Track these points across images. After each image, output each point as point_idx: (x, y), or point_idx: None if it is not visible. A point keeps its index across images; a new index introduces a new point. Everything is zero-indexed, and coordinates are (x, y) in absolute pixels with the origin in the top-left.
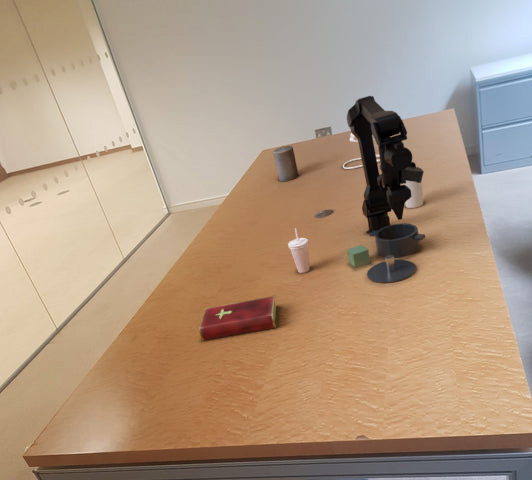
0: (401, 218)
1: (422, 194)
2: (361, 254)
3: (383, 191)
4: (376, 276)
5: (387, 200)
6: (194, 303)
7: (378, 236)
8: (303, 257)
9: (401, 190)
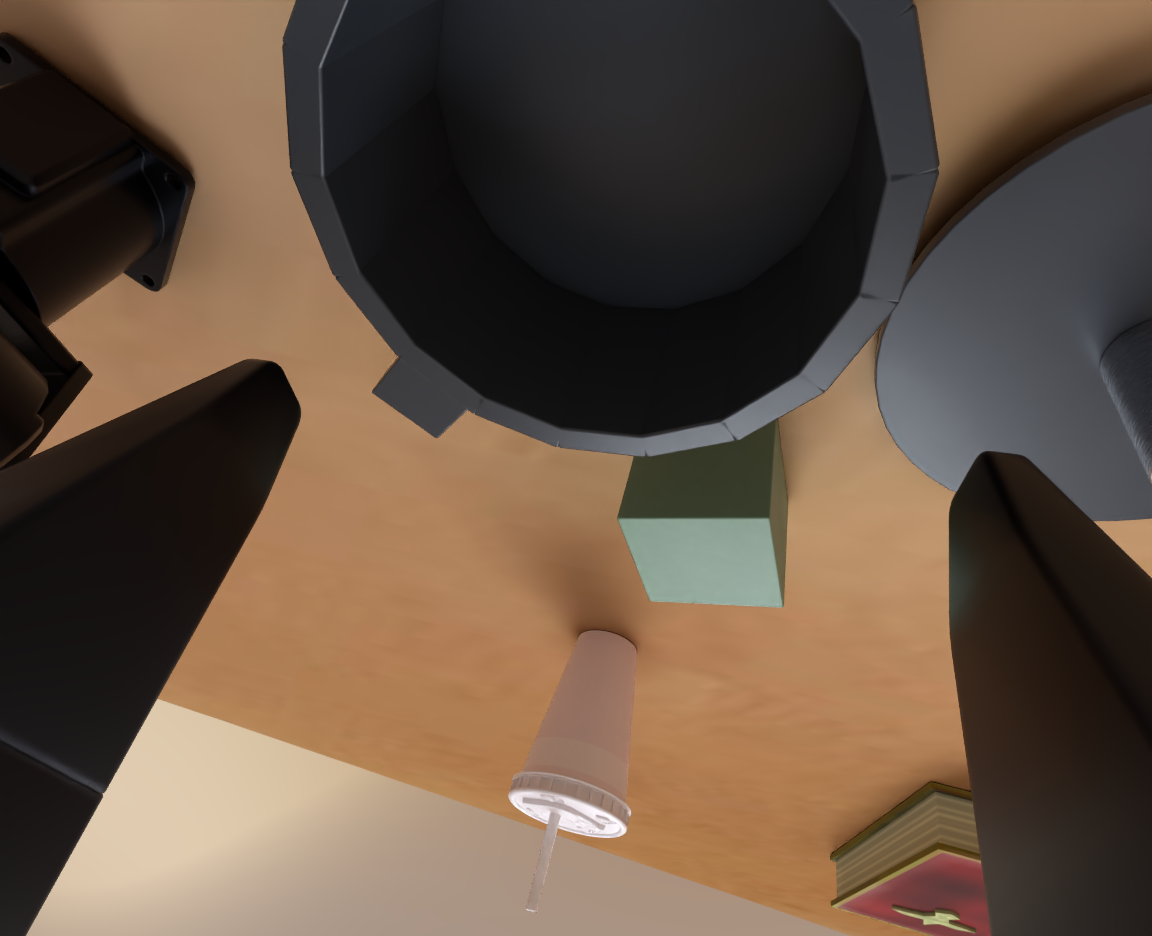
0: (1031, 478)
1: None
2: (777, 544)
3: (31, 884)
4: (1141, 480)
5: (192, 627)
6: (677, 832)
7: (533, 389)
8: (628, 736)
9: None
